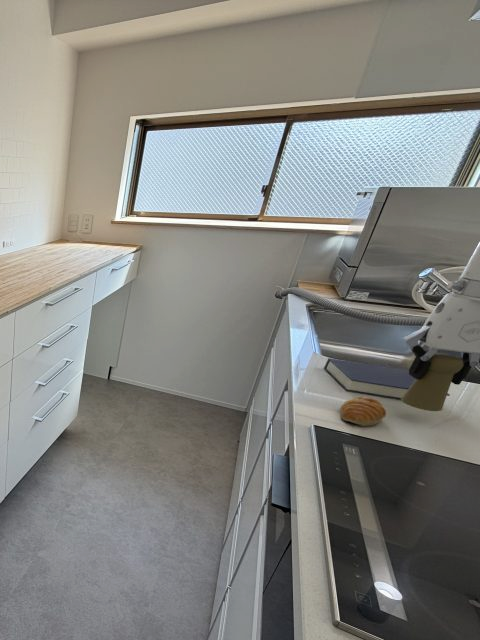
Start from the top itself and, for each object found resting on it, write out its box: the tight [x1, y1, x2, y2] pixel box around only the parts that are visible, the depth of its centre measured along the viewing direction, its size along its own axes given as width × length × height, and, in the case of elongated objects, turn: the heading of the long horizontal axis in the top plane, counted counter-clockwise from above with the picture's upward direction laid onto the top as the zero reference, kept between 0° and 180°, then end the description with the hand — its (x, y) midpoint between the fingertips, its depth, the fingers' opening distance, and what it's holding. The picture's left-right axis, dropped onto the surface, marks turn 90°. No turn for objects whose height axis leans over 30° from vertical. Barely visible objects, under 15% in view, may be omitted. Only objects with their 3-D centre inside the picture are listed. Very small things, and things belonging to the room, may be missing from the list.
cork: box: [400, 352, 464, 412], centre depth 83 cm, size 6×6×11 cm
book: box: [323, 357, 451, 400], centre depth 101 cm, size 18×14×3 cm
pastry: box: [340, 396, 387, 427], centre depth 85 cm, size 9×7×4 cm
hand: (433, 378), depth 83 cm, fingers closed on cork, 5 cm apart
